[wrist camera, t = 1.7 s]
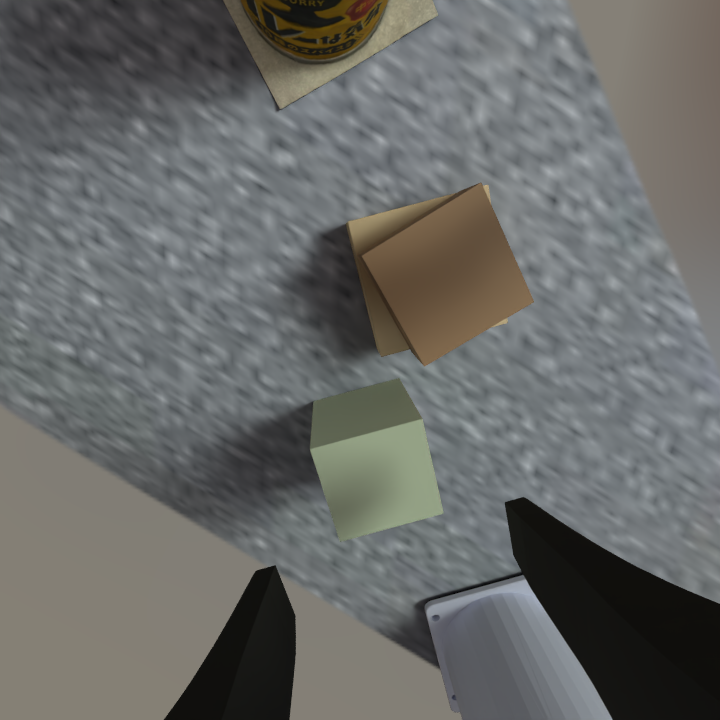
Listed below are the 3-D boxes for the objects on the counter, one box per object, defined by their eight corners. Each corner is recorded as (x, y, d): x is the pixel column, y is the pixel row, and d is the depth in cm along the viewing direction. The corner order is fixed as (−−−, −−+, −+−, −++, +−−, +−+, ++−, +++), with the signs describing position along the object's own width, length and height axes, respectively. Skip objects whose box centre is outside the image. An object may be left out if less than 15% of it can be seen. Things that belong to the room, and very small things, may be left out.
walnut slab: (508, 295, 18) (534, 302, 16) (412, 352, 18) (424, 366, 16) (460, 190, 16) (481, 182, 14) (356, 254, 16) (361, 255, 14)
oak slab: (488, 314, 20) (507, 322, 18) (375, 345, 20) (381, 356, 18) (469, 191, 18) (487, 184, 16) (345, 224, 18) (347, 221, 16)
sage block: (417, 453, 21) (443, 513, 16) (336, 475, 21) (339, 541, 16) (398, 377, 20) (422, 418, 15) (313, 400, 20) (309, 449, 15)
